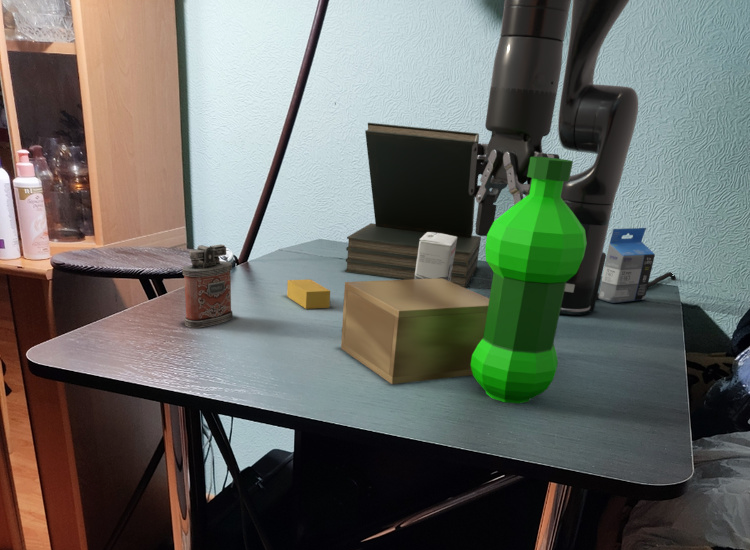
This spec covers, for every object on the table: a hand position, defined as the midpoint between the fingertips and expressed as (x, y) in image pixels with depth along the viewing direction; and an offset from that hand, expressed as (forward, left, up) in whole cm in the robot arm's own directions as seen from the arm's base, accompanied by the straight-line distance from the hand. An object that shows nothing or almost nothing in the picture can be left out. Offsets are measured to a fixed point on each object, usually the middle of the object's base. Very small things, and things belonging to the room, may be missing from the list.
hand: (499, 240), depth 90 cm
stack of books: (-18, -48, -15) cm, 54 cm away
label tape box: (-46, -20, -15) cm, 53 cm away
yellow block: (+13, -29, -15) cm, 35 cm away
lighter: (+31, -22, -15) cm, 41 cm away
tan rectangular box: (+11, 0, -15) cm, 18 cm away
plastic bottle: (+6, +14, -15) cm, 21 cm away
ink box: (-2, -17, -15) cm, 23 cm away
